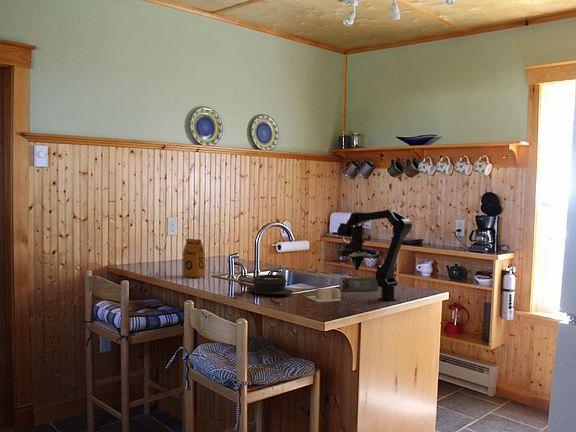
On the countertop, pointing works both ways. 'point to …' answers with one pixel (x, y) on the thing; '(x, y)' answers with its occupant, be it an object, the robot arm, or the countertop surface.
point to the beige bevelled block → (328, 293)
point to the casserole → (269, 285)
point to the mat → (322, 300)
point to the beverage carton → (359, 284)
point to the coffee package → (193, 258)
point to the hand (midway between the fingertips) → (356, 269)
